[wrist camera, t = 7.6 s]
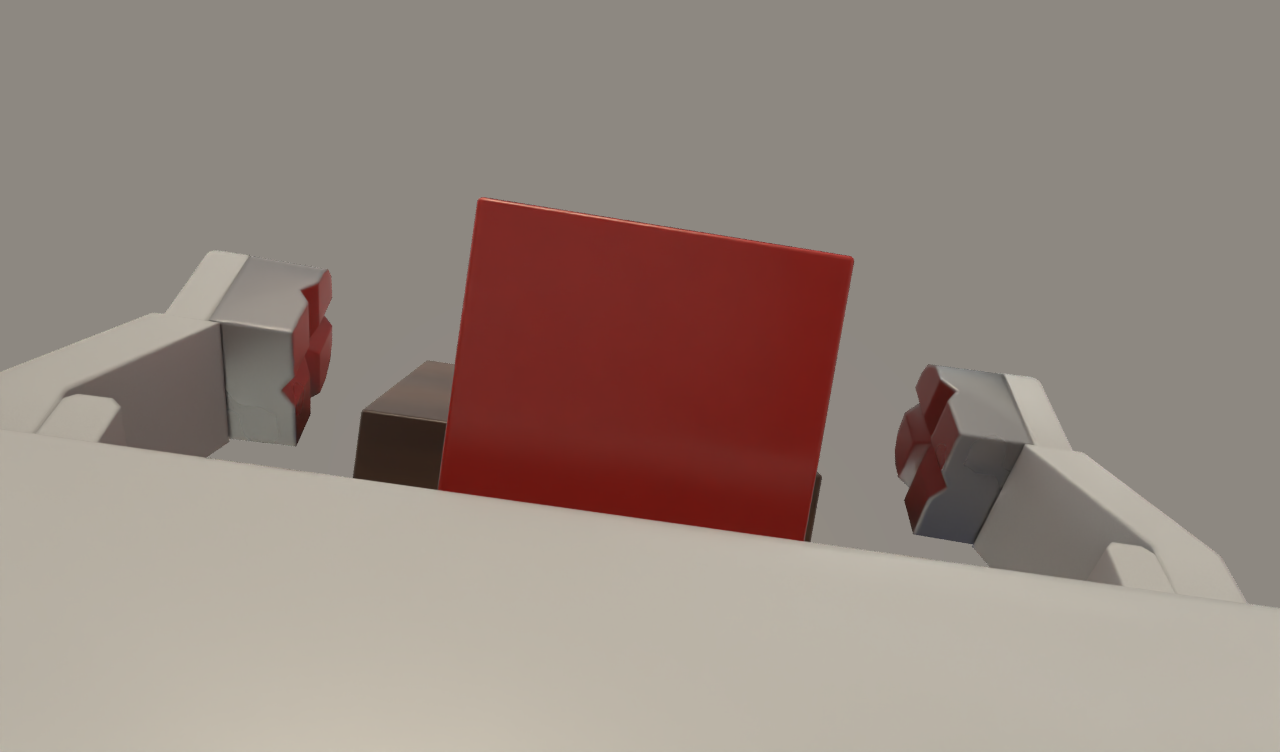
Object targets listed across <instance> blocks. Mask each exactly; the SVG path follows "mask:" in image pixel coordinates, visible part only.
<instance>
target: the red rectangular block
mask: <svg viewBox="0 0 1280 752" xmlns="http://www.w3.org/2000/svg"><path fill="white" fill-rule="evenodd" d="M853 265H854V259H853V258H852V257H851V256H846V255H840V254H833V253H828V252H822V251H815V250H809V249H803V248H796V247H790V246H784V245H777V244H772V243H765V242H759V241H753V240H747V239H740V238H734V237H728V236H722V235H715V234H709V233H703V232H696V231H691V230H684V229H678V228H672V227H666V226H660V225H653V224H647V223H641V222H634V221H629V220H622V219H616V218H610V217H604V216H597V215H591V214H585V213H579V212H573V211H566V210H559V209H554V208H548V207H541V206H535V205H529V204H523V203H517V202H510V201H504V200H498V199H492V198H485V197H481V198H479V199H478V201H477V207H476V214H475V221H474V229H473V236H472V243H471V251H470V258H469V265H468V272H467V279H466V287H465V294H464V301H463V308H462V315H461V323H460V331H459V337H458V344H457V352H456V359H455V366H454V373H453V380H452V388H451V395H450V402H449V409H448V417H447V424H446V431H445V438H444V445H443V453H442V460H441V467H440V474H439V482H438V489H437V490H441V491H448V492H455V493H462V494H469V495H476V496H483V497H491V498H498V499H505V500H512V501H519V502H526V503H533V504H541V505H548V506H555V507H562V508H569V509H576V510H583V511H590V512H598V513H605V514H612V515H619V516H626V517H633V518H640V519H647V520H655V521H662V522H669V523H676V524H683V525H690V526H697V527H705V528H712V529H719V530H726V531H733V532H740V533H747V534H755V535H762V536H769V537H776V538H783V539H790V540H797V541H805V535H806V529H807V524H808V518H809V513H810V507H811V501H812V496H813V490H814V484H815V479H816V473H817V468H818V462H819V456H820V451H821V445H822V439H823V434H824V428H825V423H826V416H827V411H828V405H829V400H830V394H831V388H832V383H833V378H834V372H835V366H836V361H837V355H838V350H839V344H840V338H841V333H842V327H843V321H844V316H845V310H846V304H847V298H848V292H849V288H850V282H851V276H852V271H853Z"/></svg>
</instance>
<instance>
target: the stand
mask: <svg viewBox="0 0 1280 752" xmlns="http://www.w3.org/2000/svg"><path fill="white" fill-rule="evenodd" d="M454 366H455V364H448V363H441V362H435V361H426V362H424V363H423V364H422V365H421V366H419V367H418V368H417V369H415V370H414V371H413V372H411V373H410V374H409V375H408V376H406V377H405V378H404V379H402V380H401V381H400V382H398V383H397V384H396V385H395V386H393V387H392V388H391V389H389V390H388V391H387V392H385V393H384V394H383V395H382V396H380V397H379V398H378V399H376V400H375V401H374V402H372V403H371V404H370V405H369V406H367V407H366V408H365V409H363V410H362V412H361V419H360V427H359V434H358V442H357V450H356V458H355V466H354V474H353V478H355V479H362V480H369V481H376V482H384V483H391V484H398V485H405V486H412V487H419V488H426V489H434V490H437V489H438V482H439V474H440V467H441V460H442V453H443V445H444V438H445V431H446V424H447V417H448V409H449V402H450V395H451V388H452V380H453V373H454ZM821 480H822V476H821V475H820V474H819V473H818V472H817V473H816V479H815V484H814V490H813V496H812V501H811V507H810V513H809V518H808V524H807V529H806V535H805V542H811V536H812V531H813V525H814V519H815V514H816V508H817V502H818V497H819V491H820V486H821Z"/></svg>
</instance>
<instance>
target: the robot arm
mask: <svg viewBox="0 0 1280 752" xmlns="http://www.w3.org/2000/svg"><path fill="white" fill-rule="evenodd" d="M331 299H332V284H331V275H330V273H329V270H328V269H323V268H316V267H311V266H306V265H300V264H295V263H289V262H283V261H277V260H272V259H266V258H260V257H251V256H250V255H244V254H237V253H230V252H223V251H217V250H214V251H211V252H208V253H207V254H206V256H205V257H204V258H203V260H202V261H201V263H200V264H199V265H198V267H197V268H196V270H195V271H194V273H193V274H192V275H191V277H190V278H189V280H188V281H187V282H186V284H185V285H184V287H183V288H182V290H181V291H180V293H179V294H178V295H177V297H176V298H175V300H174V301H173V303H172V304H171V305H170V307H169V308H168V310H167V311H166V312H165V314H159V313H151V314H148V315H145V316H143V317H141V318H138V319H135V320H133V321H130V322H127V323H125V324H122V325H120V326H117V327H114V328H112V329H109V330H107V331H104V332H102V333H99V334H97V335H94V336H92V337H89V338H86V339H84V340H81V341H79V342H76V343H73V344H71V345H69V346H66V347H63V348H61V349H58V350H56V351H53V352H50V353H48V354H45V355H43V356H40V357H38V358H35V359H32V360H30V361H28V362H25V363H23V364H20V365H17V366H15V367H12V368H10V369H7V370H4V371H2V372H0V752H1280V608H1274V607H1267V606H1260V605H1253V604H1248V603H1247V602H1246V600H1245V598H1244V596H1243V595H1242V593H1241V591H1240V589H1239V588H1238V586H1237V584H1236V582H1235V580H1234V579H1233V577H1232V575H1231V573H1230V572H1229V570H1228V568H1227V566H1226V564H1225V563H1224V561H1223V559H1222V557H1221V556H1220V555H1218V554H1217V553H1216V552H1214V551H1213V550H1212V549H1211V548H1209V547H1208V546H1207V545H1205V544H1204V543H1203V542H1201V541H1200V540H1199V539H1197V538H1196V537H1195V536H1193V535H1192V534H1191V533H1189V532H1188V531H1186V530H1185V529H1184V528H1183V527H1181V526H1180V525H1179V524H1177V523H1176V522H1175V521H1173V520H1172V519H1171V518H1169V517H1168V516H1167V515H1165V514H1164V513H1163V512H1161V511H1160V510H1159V509H1157V508H1156V507H1155V506H1153V505H1152V504H1151V503H1149V502H1148V501H1147V500H1145V499H1144V498H1143V497H1141V496H1140V495H1139V494H1137V493H1136V492H1135V491H1133V490H1132V489H1131V488H1129V487H1128V486H1127V485H1125V484H1124V483H1123V482H1122V481H1120V480H1119V479H1117V478H1116V477H1115V476H1114V475H1112V474H1111V473H1109V472H1108V471H1107V470H1106V469H1104V468H1103V467H1101V466H1100V465H1099V464H1098V463H1096V462H1095V461H1093V460H1092V459H1091V458H1090V457H1088V456H1087V455H1086V454H1084V453H1081V452H1076V451H1073V450H1072V448H1071V446H1070V444H1069V442H1068V440H1067V438H1066V436H1065V434H1064V431H1063V429H1062V427H1061V425H1060V423H1059V421H1058V419H1057V417H1056V415H1055V413H1054V410H1053V408H1052V406H1051V404H1050V402H1049V400H1048V398H1047V396H1046V393H1045V391H1044V389H1043V387H1042V385H1041V383H1040V382H1039V381H1038V380H1036V379H1035V378H1034V377H1026V376H1017V375H1009V374H1001V373H999V374H998V373H990V372H983V371H975V370H968V369H960V368H952V367H945V366H938V365H930V364H928V365H927V367H926V368H925V369H924V371H923V372H922V374H921V376H920V378H919V380H918V383H917V385H916V391H917V395H918V398H919V402H920V403H919V404H917V405H916V406H915V407H913V408H911V409H910V410H908V411H907V412H906V413H905V414H904V417H903V420H902V422H901V425H900V428H899V430H898V435H897V441H896V447H895V462H896V463H895V464H896V469H897V473H898V477H899V478H900V479H901V480H902V481H903V482H904V483H905V484H906V485H907V486H908V487H909V490H908V493H907V495H906V497H905V500H904V501H905V505H906V508H907V512H908V516H909V520H910V523H911V527H912V531H913V534H915V535H921V536H927V537H933V538H939V539H945V540H951V541H956V542H962V543H968V544H973V546H972V547H973V548H974V549H975V550H976V551H977V553H978V554H979V555H980V556H981V557H982V558H983V560H984V561H985V562H986V563H987V564H988V565H989V567H983V566H976V565H969V564H962V563H955V562H947V561H939V560H933V559H926V558H918V557H912V556H905V555H897V554H890V553H883V552H876V551H869V550H862V549H854V548H847V547H840V546H833V545H826V544H819V543H811V542H805V541H797V540H790V539H783V538H776V537H769V536H762V535H755V534H747V533H740V532H733V531H726V530H719V529H712V528H705V527H697V526H690V525H683V524H676V523H669V522H662V521H655V520H647V519H640V518H633V517H626V516H619V515H612V514H605V513H598V512H590V511H583V510H576V509H569V508H562V507H555V506H548V505H541V504H533V503H526V502H519V501H512V500H505V499H498V498H491V497H483V496H476V495H469V494H462V493H455V492H448V491H441V490H434V489H426V488H419V487H412V486H405V485H398V484H391V483H384V482H376V481H369V480H362V479H355V478H348V477H341V476H334V475H327V474H319V473H312V472H305V471H298V470H291V469H284V468H277V467H269V466H262V465H255V464H248V463H241V462H233V461H226V460H219V459H212V458H206V457H208V456H209V455H211V454H212V453H214V452H215V451H216V450H218V449H219V448H221V447H222V446H224V445H225V444H227V443H228V442H229V439H236V440H245V441H253V442H262V443H271V444H280V445H288V446H296V445H297V443H298V441H299V439H300V436H301V434H302V432H303V430H304V427H305V425H306V423H307V421H308V419H309V416H310V398H311V397H313V396H315V395H317V394H318V393H320V391H321V388H322V386H323V384H324V381H325V378H326V374H327V370H328V366H329V362H330V356H331V346H332V325H331V324H330V322H329V321H328V320H327V318H326V317H325V316H324V314H325V312H326V310H327V308H328V305H329V303H330V301H331Z"/></svg>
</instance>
